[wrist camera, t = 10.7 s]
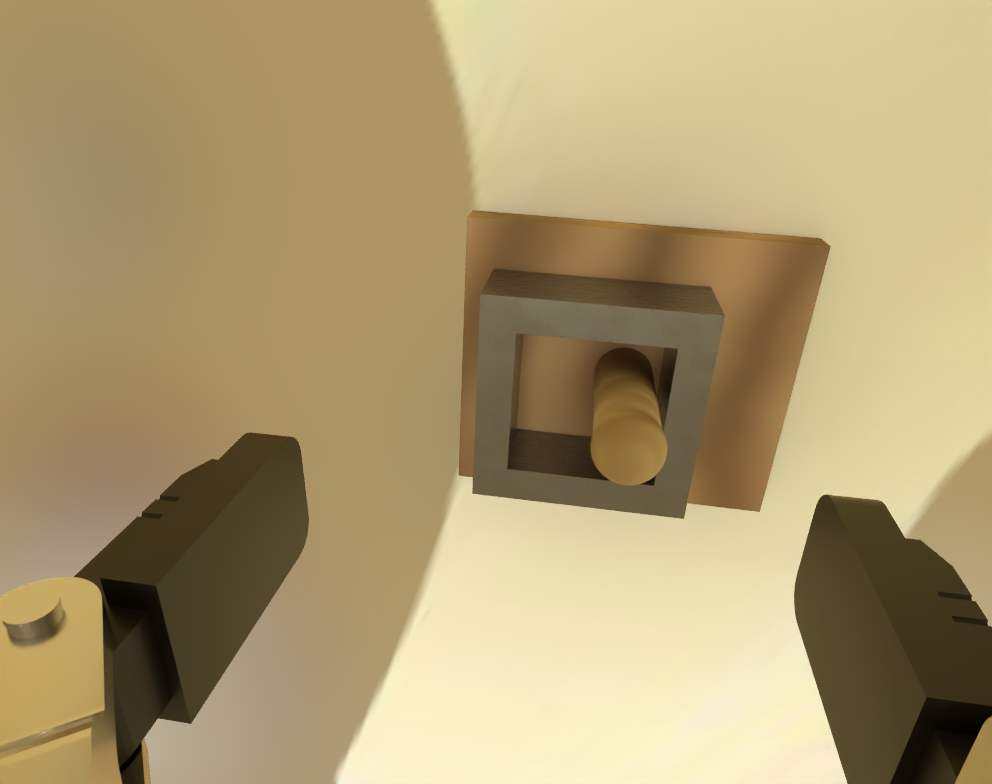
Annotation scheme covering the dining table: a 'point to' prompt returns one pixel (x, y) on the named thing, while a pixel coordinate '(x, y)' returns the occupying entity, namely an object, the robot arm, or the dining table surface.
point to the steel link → (598, 317)
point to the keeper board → (636, 368)
